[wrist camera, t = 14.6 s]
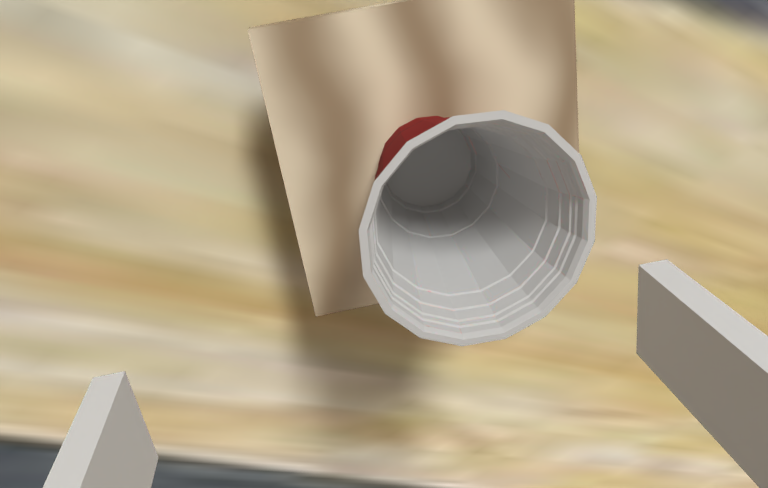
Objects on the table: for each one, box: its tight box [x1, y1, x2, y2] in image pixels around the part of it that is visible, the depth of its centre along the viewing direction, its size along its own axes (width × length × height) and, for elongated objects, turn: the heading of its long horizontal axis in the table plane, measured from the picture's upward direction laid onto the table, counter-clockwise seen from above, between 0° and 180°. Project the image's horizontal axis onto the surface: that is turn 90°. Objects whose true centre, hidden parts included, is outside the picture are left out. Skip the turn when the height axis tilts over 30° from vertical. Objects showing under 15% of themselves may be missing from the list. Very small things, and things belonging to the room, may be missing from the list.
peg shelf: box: [248, 0, 579, 316], centre depth 41 cm, size 18×18×8 cm
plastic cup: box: [359, 110, 597, 346], centre depth 33 cm, size 11×11×12 cm
